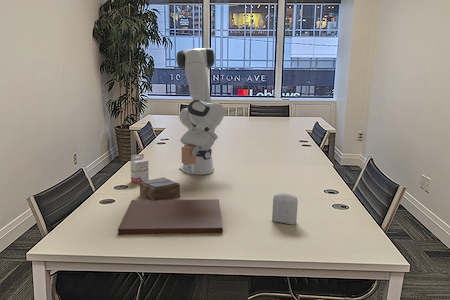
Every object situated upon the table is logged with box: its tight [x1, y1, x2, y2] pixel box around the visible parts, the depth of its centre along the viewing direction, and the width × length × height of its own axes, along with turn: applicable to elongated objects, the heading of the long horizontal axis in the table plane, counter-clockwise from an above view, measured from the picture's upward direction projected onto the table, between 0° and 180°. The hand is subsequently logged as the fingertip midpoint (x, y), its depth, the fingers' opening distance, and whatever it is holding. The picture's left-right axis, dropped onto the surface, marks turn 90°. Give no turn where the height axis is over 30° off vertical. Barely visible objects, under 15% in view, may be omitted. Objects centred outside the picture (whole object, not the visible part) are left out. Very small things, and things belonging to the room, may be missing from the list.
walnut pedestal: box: [139, 176, 181, 200], centre depth 201 cm, size 14×14×7 cm
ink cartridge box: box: [130, 153, 150, 184], centre depth 224 cm, size 9×5×15 cm, turn 135°
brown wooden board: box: [117, 198, 224, 236], centre depth 174 cm, size 40×3×33 cm
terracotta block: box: [181, 145, 196, 165], centre depth 199 cm, size 5×5×8 cm
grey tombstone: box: [271, 192, 299, 225], centre depth 169 cm, size 10×4×12 cm, turn 69°
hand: (187, 153), depth 198 cm, fingers closed on terracotta block, 5 cm apart
